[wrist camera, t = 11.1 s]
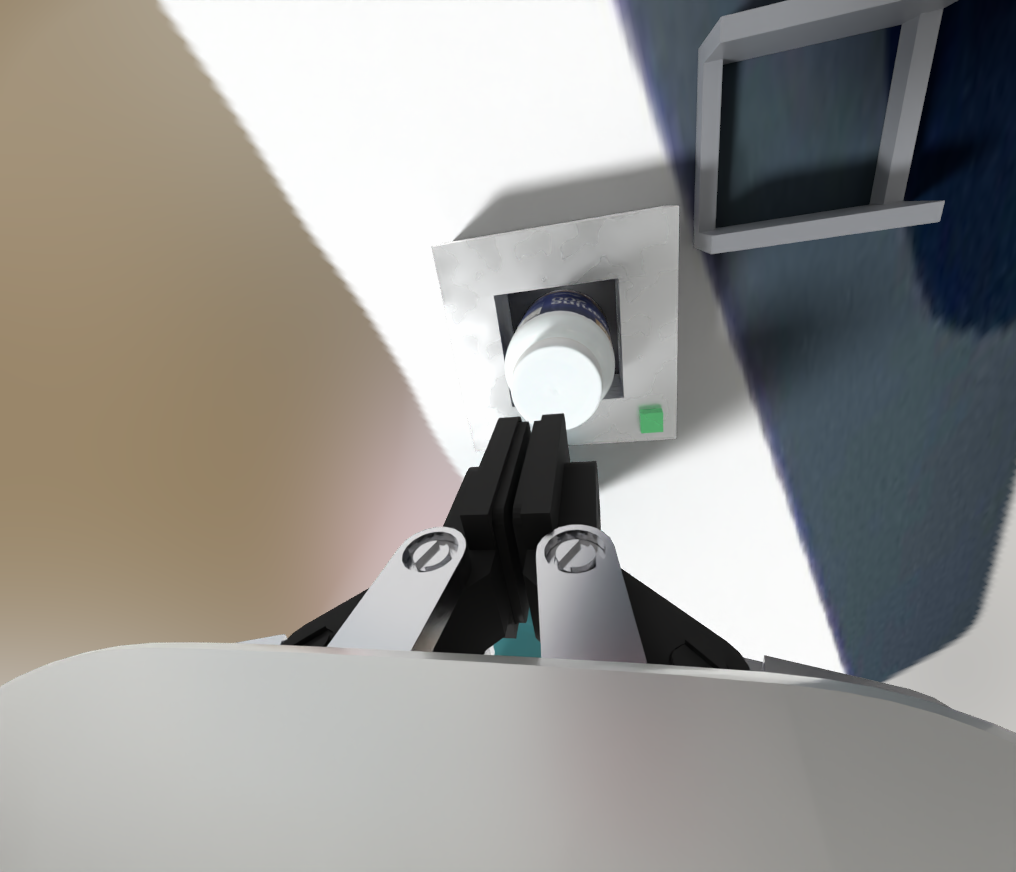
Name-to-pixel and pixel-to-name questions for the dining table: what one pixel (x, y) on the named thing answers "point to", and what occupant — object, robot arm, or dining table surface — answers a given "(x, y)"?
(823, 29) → the grey open frame
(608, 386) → the pill bottle
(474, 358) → the port
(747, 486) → the dining table surface
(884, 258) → the dining table surface
